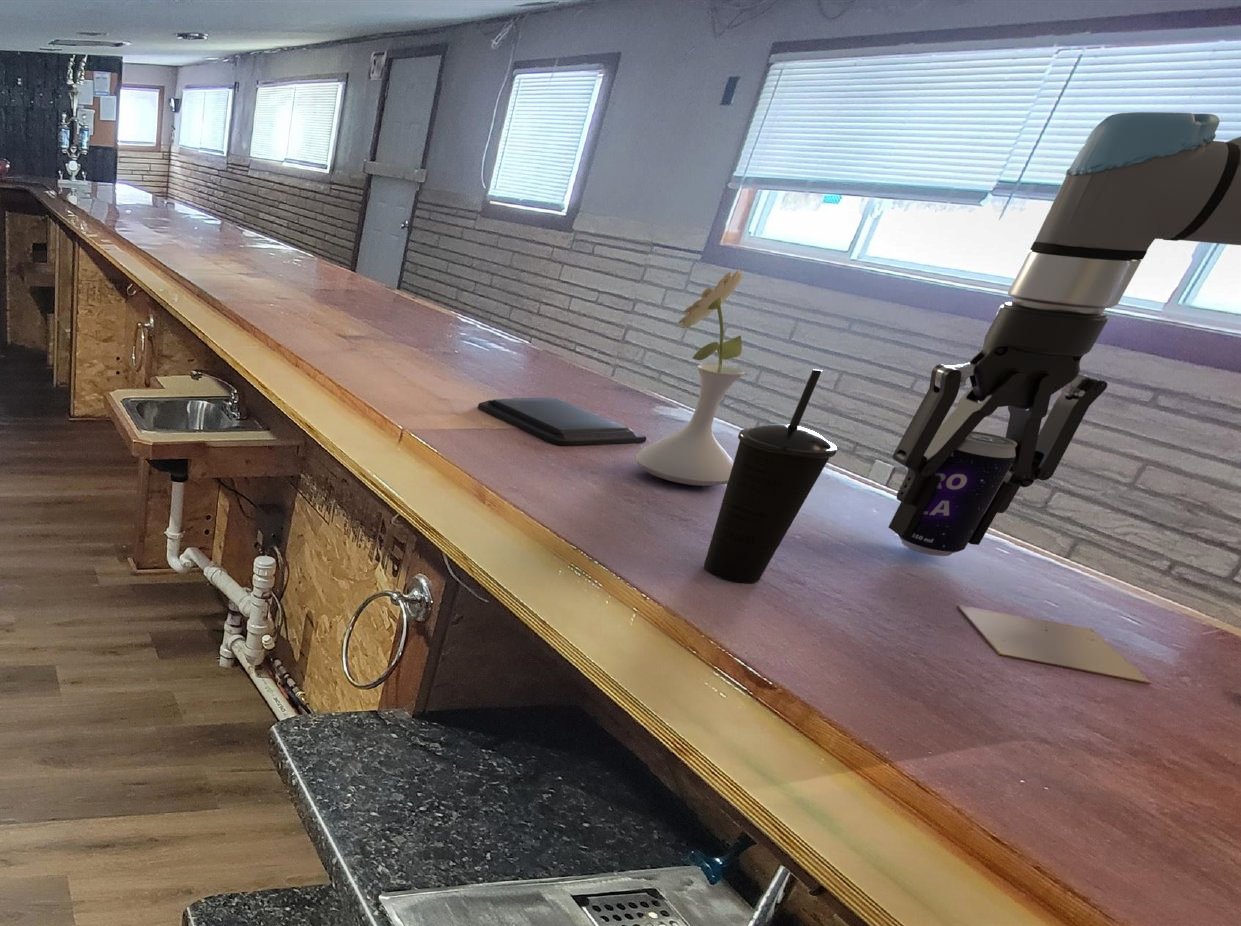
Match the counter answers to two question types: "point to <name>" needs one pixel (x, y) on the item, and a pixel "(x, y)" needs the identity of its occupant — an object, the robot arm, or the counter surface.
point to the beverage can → (962, 494)
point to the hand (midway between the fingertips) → (932, 535)
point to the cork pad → (1051, 643)
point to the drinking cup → (765, 493)
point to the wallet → (560, 421)
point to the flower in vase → (700, 406)
